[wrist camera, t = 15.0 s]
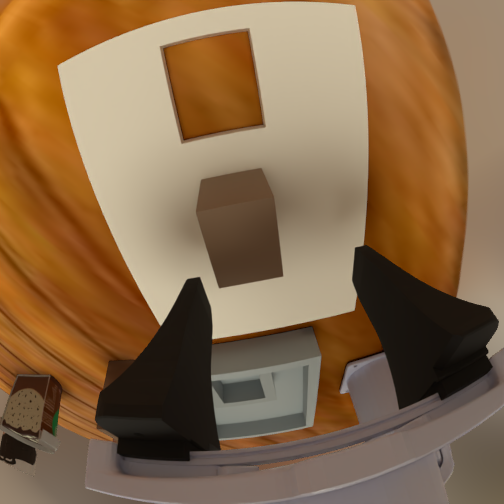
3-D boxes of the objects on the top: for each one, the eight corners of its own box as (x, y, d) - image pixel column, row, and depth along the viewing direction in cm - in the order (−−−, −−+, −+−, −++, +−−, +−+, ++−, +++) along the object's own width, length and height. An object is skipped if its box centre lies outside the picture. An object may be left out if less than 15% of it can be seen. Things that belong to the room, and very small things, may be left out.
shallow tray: (312, 326, 22) (321, 355, 19) (308, 408, 34) (312, 426, 31) (152, 351, 22) (148, 380, 20) (212, 422, 34) (212, 440, 31)
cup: (25, 386, 28) (8, 464, 15) (53, 406, 31) (41, 479, 19) (9, 385, 28) (-8, 455, 16) (34, 404, 32) (22, 470, 20)
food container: (39, 394, 29) (28, 446, 21) (13, 374, 25) (-3, 428, 17) (87, 397, 28) (76, 461, 20) (57, 374, 25) (40, 444, 17)
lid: (348, 8, 9) (393, -9, 5) (350, 303, 21) (370, 345, 17) (65, 65, 9) (15, 69, 5) (172, 336, 21) (168, 382, 17)
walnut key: (134, 359, 23) (124, 431, 17) (151, 379, 25) (146, 444, 19) (109, 360, 23) (96, 428, 17) (127, 380, 25) (119, 442, 19)
